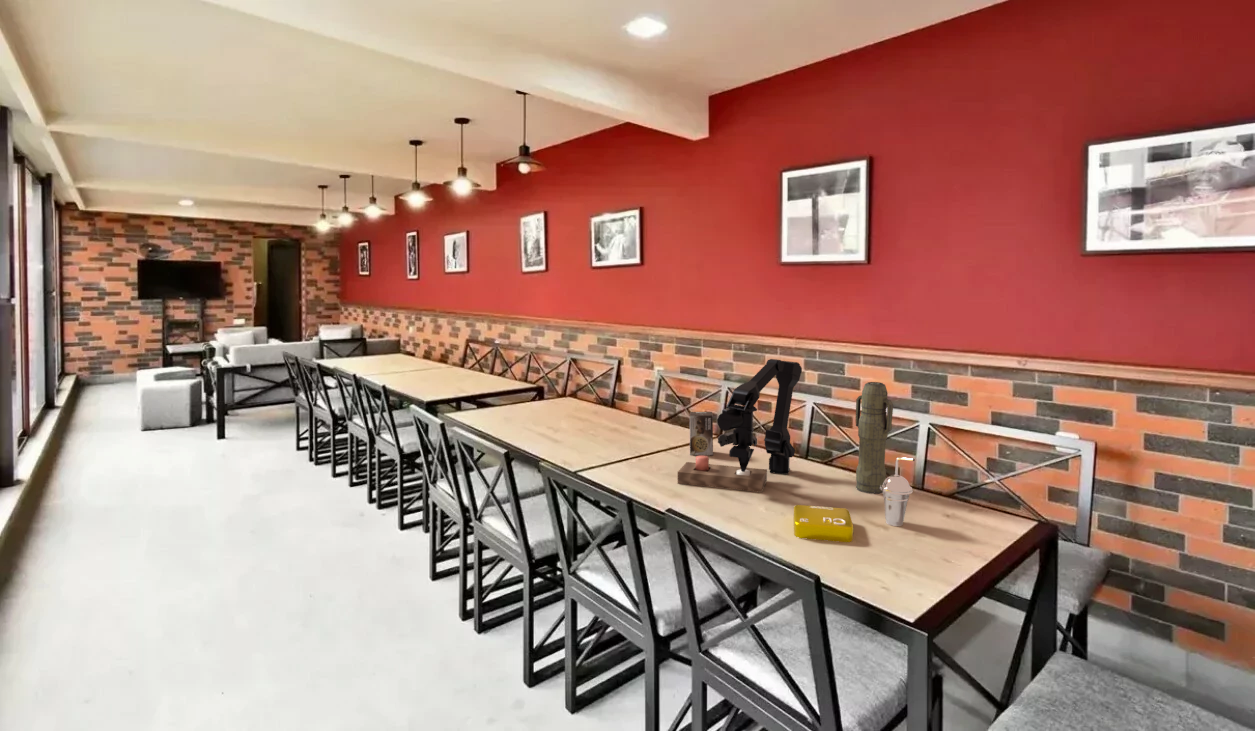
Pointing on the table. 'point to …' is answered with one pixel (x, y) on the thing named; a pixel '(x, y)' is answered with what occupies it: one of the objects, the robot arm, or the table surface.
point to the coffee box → (701, 433)
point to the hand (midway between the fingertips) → (743, 471)
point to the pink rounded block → (702, 463)
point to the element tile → (823, 523)
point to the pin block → (723, 477)
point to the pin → (743, 472)
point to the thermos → (872, 436)
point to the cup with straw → (896, 496)
